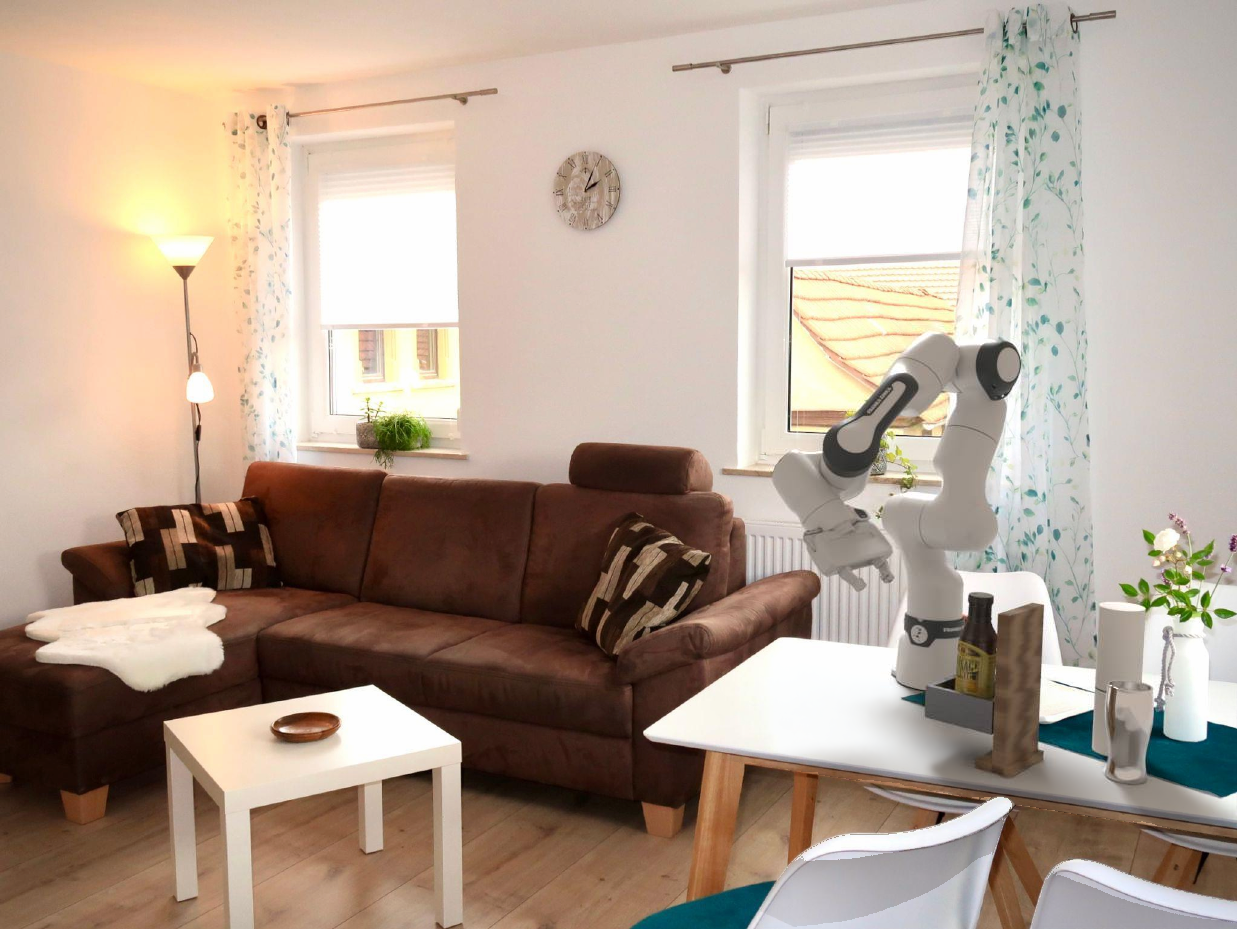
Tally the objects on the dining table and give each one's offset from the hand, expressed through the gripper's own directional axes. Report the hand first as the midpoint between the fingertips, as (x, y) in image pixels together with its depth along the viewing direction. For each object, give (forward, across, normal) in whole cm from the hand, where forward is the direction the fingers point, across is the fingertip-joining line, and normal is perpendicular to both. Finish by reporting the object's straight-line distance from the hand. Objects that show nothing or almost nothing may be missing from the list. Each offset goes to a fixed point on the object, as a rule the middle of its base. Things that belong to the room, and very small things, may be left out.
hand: (876, 585), depth 194 cm
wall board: (+37, -2, -1) cm, 37 cm away
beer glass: (+48, +6, -11) cm, 50 cm away
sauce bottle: (+27, -2, -1) cm, 27 cm away
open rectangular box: (+28, -2, 0) cm, 28 cm away
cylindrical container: (+44, +17, -7) cm, 48 cm away
